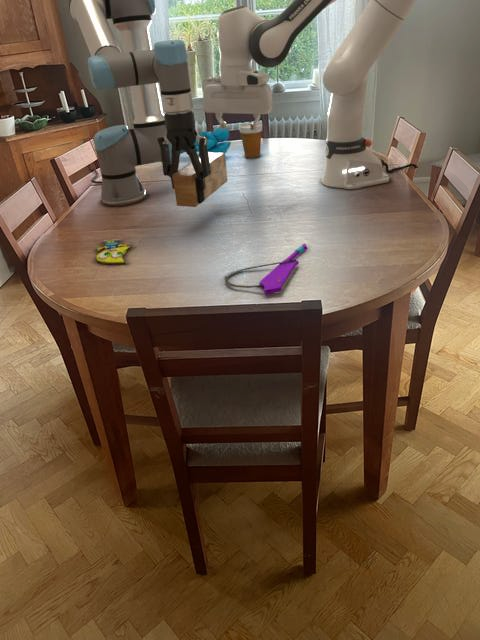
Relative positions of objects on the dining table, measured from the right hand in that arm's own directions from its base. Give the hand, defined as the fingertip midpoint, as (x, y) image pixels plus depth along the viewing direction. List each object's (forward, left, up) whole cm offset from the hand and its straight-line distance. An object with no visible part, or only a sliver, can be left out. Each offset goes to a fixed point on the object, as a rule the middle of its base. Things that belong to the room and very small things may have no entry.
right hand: (238, 129), depth 140 cm
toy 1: (+40, +24, -23) cm, 52 cm away
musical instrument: (+2, +47, -23) cm, 52 cm away
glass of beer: (-13, -58, -23) cm, 64 cm away
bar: (+13, +9, -14) cm, 21 cm away
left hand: (+17, +16, -14) cm, 27 cm away
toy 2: (+10, -64, -23) cm, 69 cm away
